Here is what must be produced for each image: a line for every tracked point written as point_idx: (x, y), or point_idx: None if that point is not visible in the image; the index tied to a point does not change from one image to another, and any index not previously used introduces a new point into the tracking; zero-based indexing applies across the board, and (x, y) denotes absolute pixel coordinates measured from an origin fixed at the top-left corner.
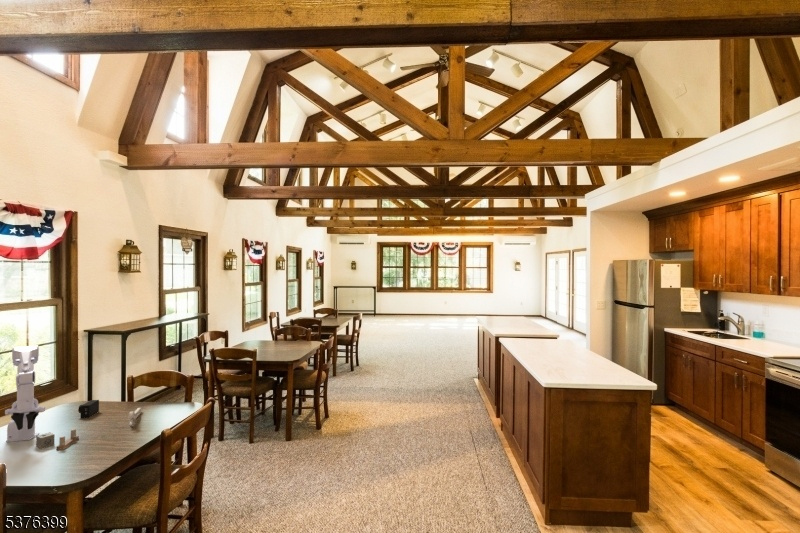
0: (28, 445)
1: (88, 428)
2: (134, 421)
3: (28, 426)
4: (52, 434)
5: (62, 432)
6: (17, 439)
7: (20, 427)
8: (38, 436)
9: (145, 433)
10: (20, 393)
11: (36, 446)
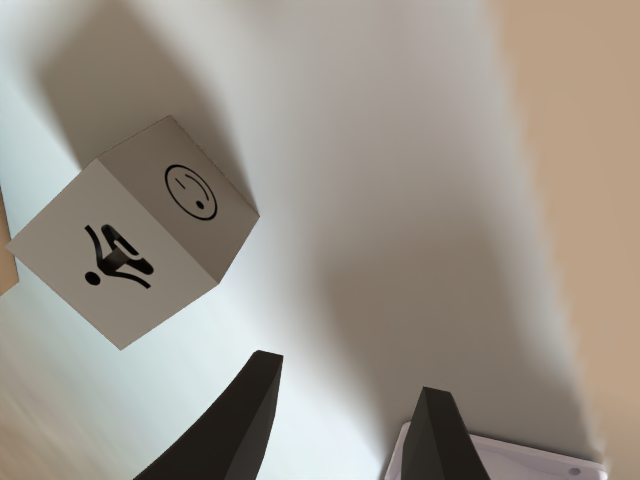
0: (357, 288)
1: (49, 470)
2: None
3: (248, 385)
4: (28, 251)
5: None
6: (508, 458)
7: (417, 438)
8: (173, 246)
9: None
10: None
11: (253, 213)
